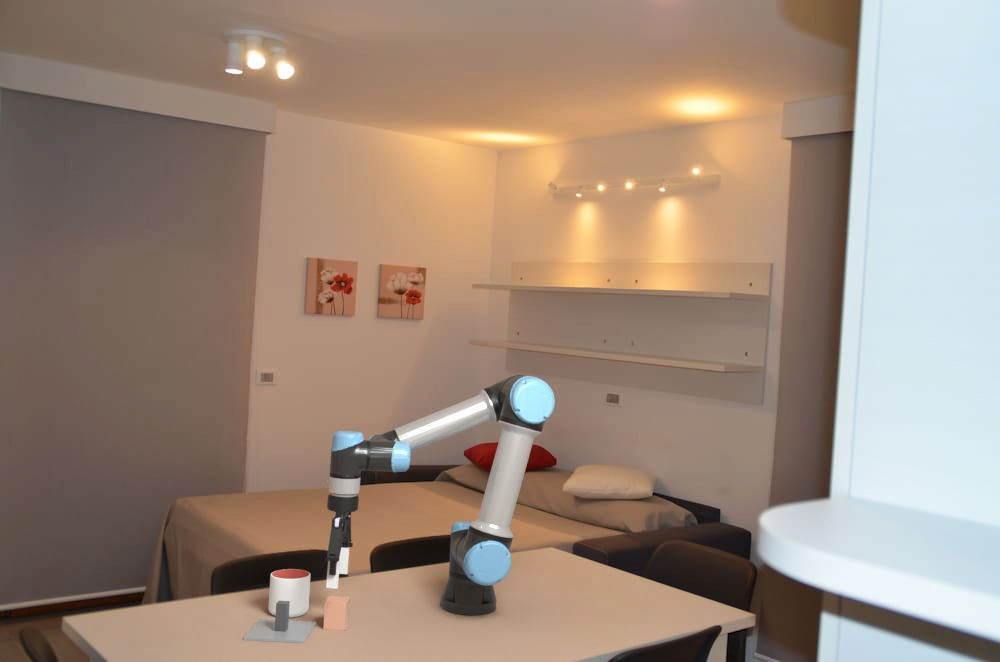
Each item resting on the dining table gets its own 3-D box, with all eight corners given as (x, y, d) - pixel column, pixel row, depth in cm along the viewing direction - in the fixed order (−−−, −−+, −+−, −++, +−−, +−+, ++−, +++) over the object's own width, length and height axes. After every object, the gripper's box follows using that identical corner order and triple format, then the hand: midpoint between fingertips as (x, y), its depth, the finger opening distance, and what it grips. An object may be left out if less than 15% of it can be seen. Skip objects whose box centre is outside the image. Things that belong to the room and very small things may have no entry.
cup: (298, 621, 216) (300, 580, 216) (261, 616, 218) (263, 576, 218) (314, 609, 226) (316, 571, 226) (278, 605, 228) (281, 567, 228)
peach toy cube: (348, 623, 216) (349, 597, 216) (344, 630, 211) (346, 603, 211) (327, 622, 216) (329, 595, 216) (323, 629, 211) (324, 602, 211)
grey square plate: (316, 624, 214) (318, 595, 214) (304, 643, 200) (305, 612, 200) (259, 621, 214) (261, 592, 214) (243, 640, 200) (245, 609, 200)
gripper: (337, 485, 226) (331, 567, 226) (318, 501, 201) (311, 593, 201) (366, 487, 226) (360, 568, 226) (350, 503, 201) (343, 595, 201)
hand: (337, 580), depth 213 cm, fingers open, 13 cm apart
